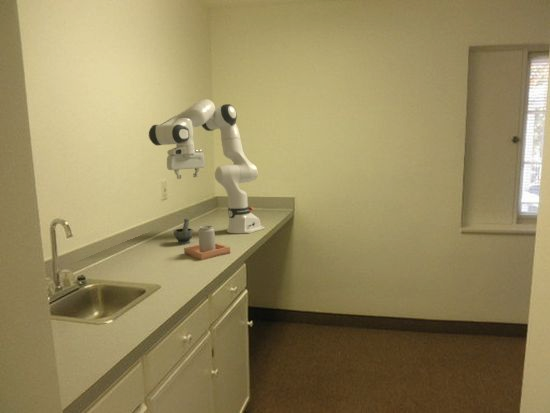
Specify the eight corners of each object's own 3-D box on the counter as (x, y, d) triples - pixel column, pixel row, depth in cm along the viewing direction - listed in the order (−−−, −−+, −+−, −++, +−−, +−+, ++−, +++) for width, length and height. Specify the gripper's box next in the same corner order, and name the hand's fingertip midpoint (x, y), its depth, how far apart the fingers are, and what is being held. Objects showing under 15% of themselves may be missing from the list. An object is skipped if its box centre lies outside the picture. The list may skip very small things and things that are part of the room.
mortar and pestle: (188, 245, 213) (186, 222, 211) (171, 245, 215) (169, 222, 214) (197, 240, 224) (195, 218, 222) (181, 239, 226) (179, 218, 224)
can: (218, 250, 198) (217, 225, 196) (210, 254, 191) (209, 228, 190) (204, 249, 201) (203, 224, 199) (196, 253, 194) (194, 227, 192)
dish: (212, 247, 207) (211, 241, 207) (230, 253, 196) (229, 246, 195) (184, 254, 197) (184, 247, 197) (202, 260, 186) (201, 253, 185)
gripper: (200, 149, 220) (201, 176, 222) (164, 151, 207) (166, 179, 209) (206, 149, 215) (208, 176, 217) (170, 151, 202) (172, 179, 204)
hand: (187, 177), depth 213 cm, fingers open, 8 cm apart
